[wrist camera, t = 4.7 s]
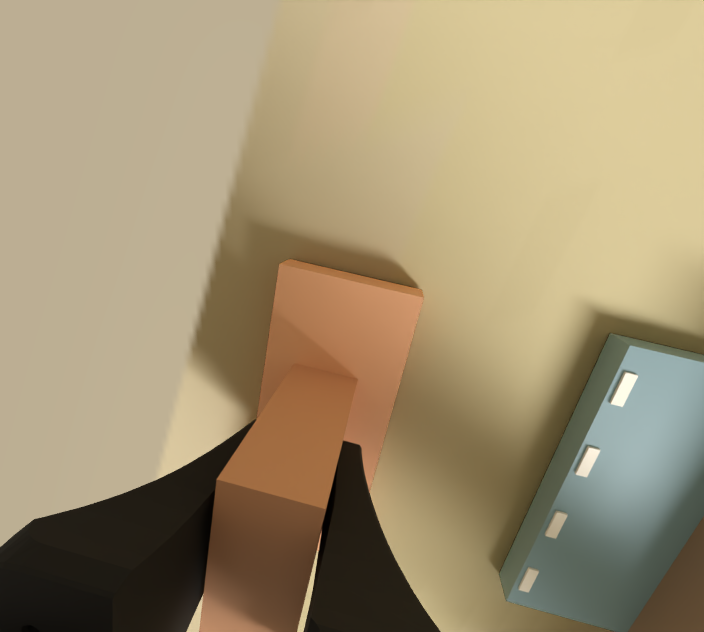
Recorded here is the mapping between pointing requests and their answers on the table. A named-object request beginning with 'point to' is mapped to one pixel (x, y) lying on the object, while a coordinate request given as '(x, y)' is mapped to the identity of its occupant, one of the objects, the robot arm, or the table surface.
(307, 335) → the stepped pink slab
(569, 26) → the table surface
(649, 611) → the block
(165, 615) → the robot arm
